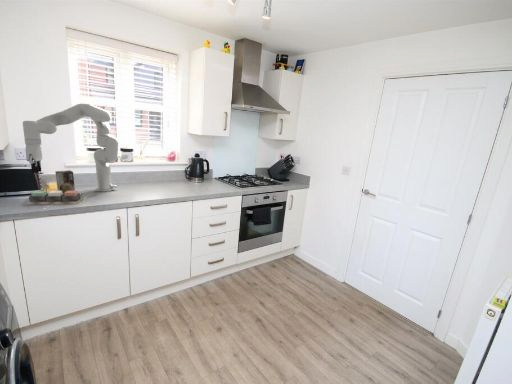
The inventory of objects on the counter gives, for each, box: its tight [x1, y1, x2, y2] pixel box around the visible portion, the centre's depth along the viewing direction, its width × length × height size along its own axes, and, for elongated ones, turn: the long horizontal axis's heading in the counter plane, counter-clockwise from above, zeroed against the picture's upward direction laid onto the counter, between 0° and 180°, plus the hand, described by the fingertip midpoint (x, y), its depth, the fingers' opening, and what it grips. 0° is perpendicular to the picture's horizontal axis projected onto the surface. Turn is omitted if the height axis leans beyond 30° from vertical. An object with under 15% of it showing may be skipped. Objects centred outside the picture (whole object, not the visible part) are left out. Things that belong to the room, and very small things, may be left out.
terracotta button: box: [64, 190, 79, 196], centre depth 170 cm, size 6×6×4 cm
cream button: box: [47, 190, 63, 196], centre depth 167 cm, size 6×6×4 cm
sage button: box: [30, 190, 48, 196], centre depth 164 cm, size 6×6×4 cm
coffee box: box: [55, 170, 76, 193], centre depth 185 cm, size 9×6×16 cm
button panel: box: [25, 192, 84, 205], centre depth 168 cm, size 27×11×4 cm, turn 110°
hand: (36, 171), depth 161 cm, fingers open, 3 cm apart
